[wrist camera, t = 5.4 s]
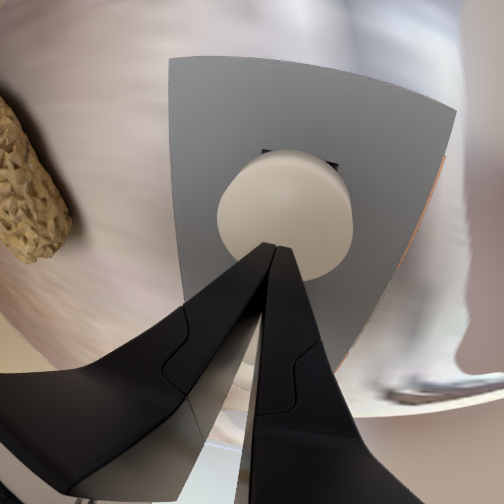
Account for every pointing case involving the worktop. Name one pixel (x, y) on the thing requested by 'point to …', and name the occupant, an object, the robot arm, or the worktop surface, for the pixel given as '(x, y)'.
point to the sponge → (27, 197)
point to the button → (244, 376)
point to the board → (313, 142)
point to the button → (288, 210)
